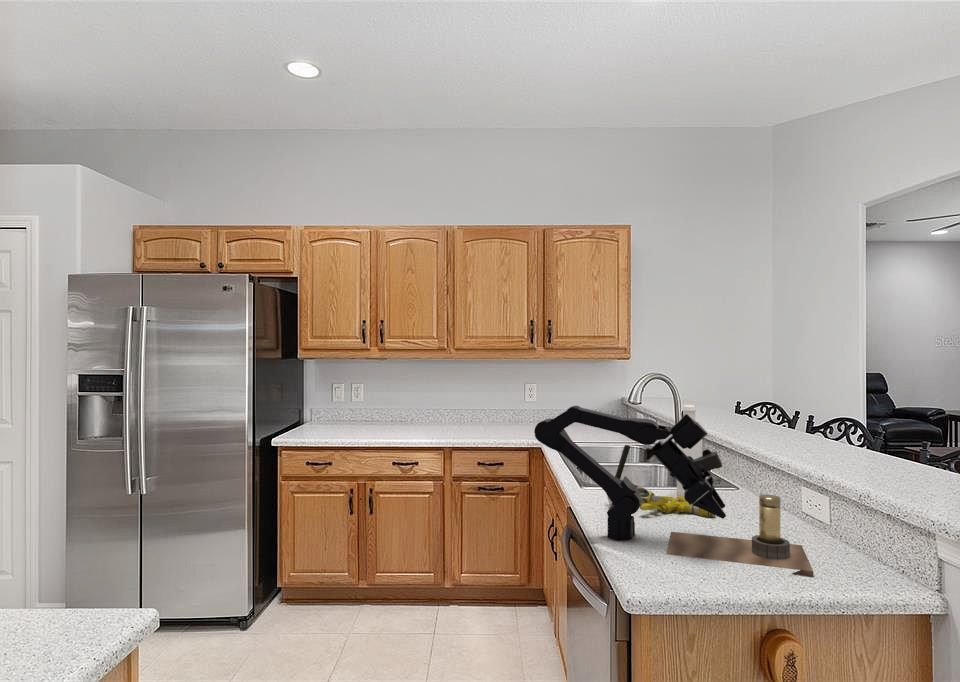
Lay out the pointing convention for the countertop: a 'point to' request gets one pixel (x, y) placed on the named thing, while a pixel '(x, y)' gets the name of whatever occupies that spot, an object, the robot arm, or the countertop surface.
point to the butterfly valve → (642, 490)
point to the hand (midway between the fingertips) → (724, 512)
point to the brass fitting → (769, 519)
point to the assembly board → (741, 551)
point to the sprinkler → (672, 505)
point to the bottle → (693, 452)
